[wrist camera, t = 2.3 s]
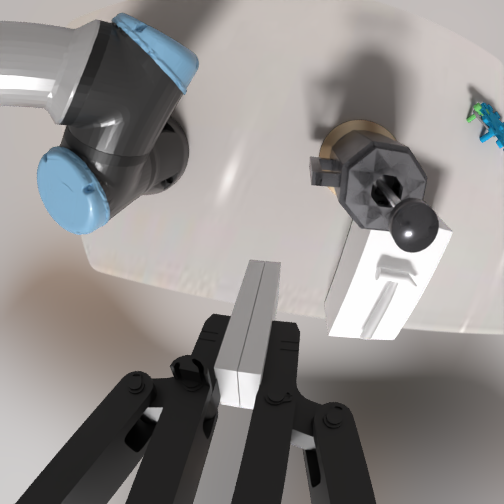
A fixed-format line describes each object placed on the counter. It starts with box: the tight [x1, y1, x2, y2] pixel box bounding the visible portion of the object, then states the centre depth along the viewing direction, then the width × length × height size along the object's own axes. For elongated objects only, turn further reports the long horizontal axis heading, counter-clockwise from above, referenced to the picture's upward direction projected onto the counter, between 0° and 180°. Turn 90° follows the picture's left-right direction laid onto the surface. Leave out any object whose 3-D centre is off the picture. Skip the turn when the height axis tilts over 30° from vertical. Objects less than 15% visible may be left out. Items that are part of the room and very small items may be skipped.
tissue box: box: [324, 214, 453, 340], centre depth 44 cm, size 14×25×11 cm, turn 174°
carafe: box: [309, 130, 427, 231], centre depth 34 cm, size 14×11×14 cm
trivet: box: [319, 120, 396, 196], centre depth 40 cm, size 14×14×1 cm
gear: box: [467, 102, 504, 150], centre depth 29 cm, size 11×6×10 cm
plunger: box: [371, 175, 439, 253], centre depth 25 cm, size 8×8×14 cm
